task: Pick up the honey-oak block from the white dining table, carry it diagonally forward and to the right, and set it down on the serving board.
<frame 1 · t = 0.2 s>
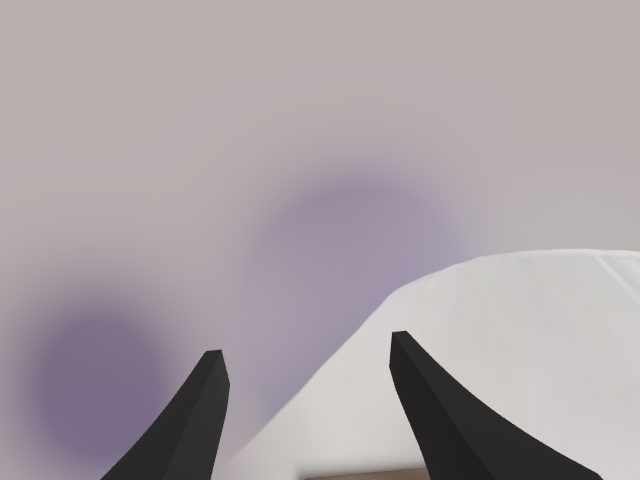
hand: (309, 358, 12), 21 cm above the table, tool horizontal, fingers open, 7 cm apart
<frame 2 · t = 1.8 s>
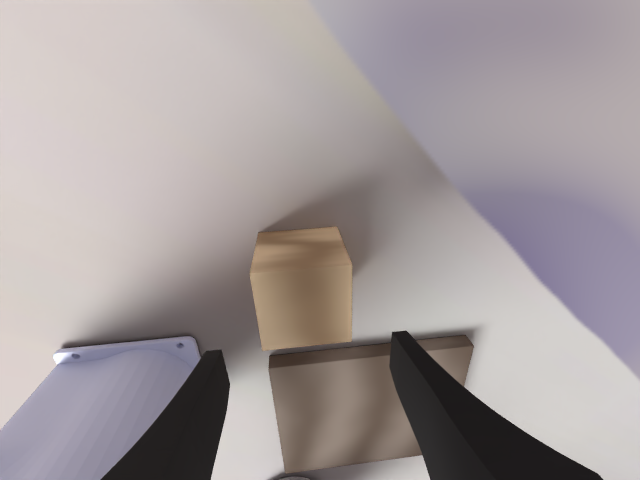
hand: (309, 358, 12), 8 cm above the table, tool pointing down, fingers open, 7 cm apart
serving board: (367, 403, 27), on the table
oak block: (300, 263, 20), on the table
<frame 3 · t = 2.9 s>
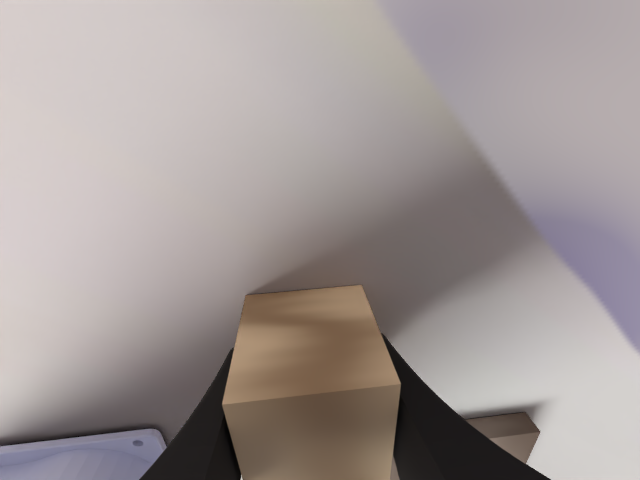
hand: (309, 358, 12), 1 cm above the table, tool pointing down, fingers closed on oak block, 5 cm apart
oak block: (307, 334, 14), on the table, touching gripper
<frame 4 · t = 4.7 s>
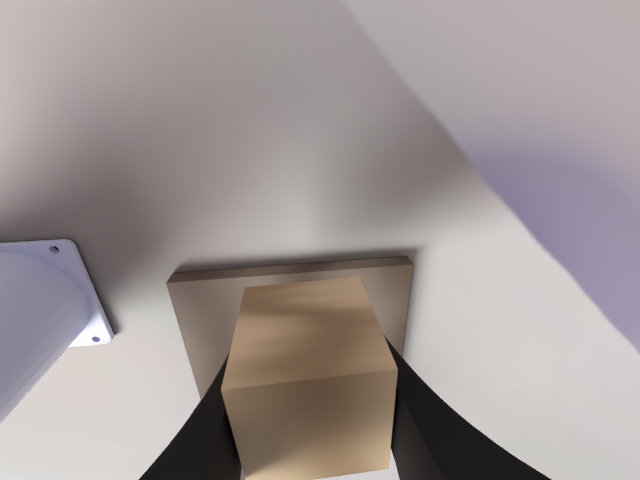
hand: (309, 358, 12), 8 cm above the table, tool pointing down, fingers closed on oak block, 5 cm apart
serving board: (299, 341, 23), on the table
oak block: (306, 326, 14), point 7 cm above the table, touching gripper
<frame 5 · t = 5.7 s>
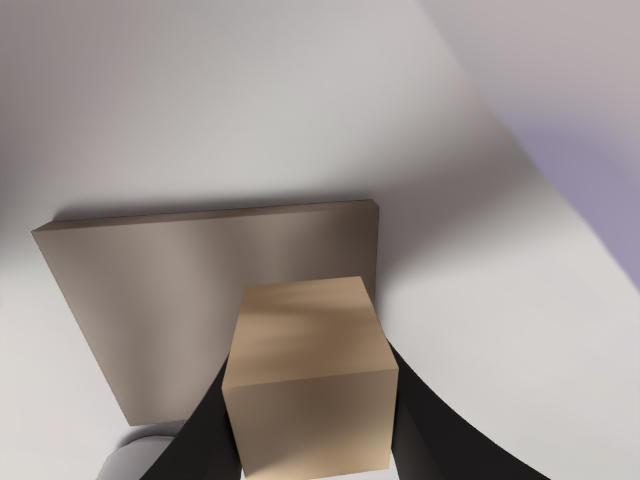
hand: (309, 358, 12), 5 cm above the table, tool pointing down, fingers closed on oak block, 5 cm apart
can: (162, 455, 23), on the table
serving board: (239, 318, 18), on the table
oak block: (307, 326, 14), point 4 cm above the table, touching gripper
when the fingers open (4 cm above the table, at t = 6.5 s): oak block drops 1 cm, resting on serving board.
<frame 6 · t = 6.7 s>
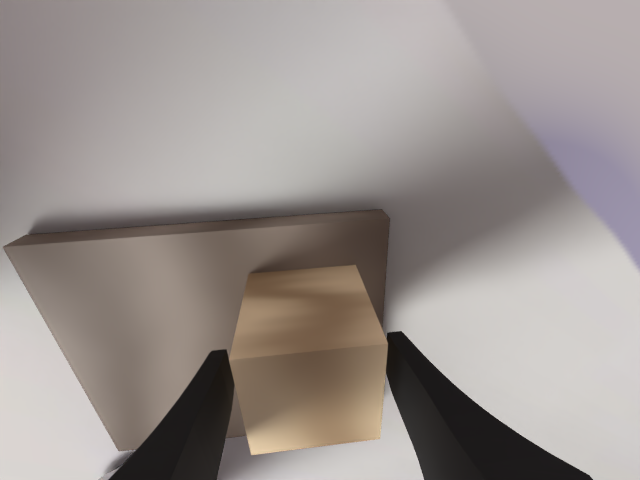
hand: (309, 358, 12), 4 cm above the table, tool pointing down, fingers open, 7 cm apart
serving board: (236, 336, 17), on the table
oak block: (305, 311, 15), point 1 cm above the table, touching serving board
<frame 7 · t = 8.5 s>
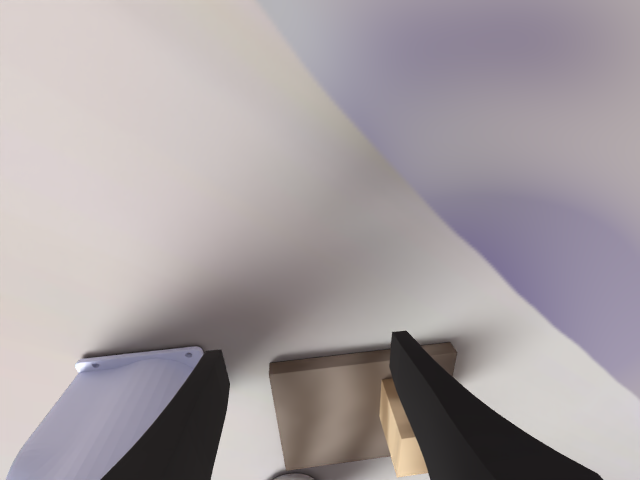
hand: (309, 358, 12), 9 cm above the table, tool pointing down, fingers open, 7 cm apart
serving board: (361, 405, 29), on the table
oak block: (407, 395, 27), point 1 cm above the table, touching serving board
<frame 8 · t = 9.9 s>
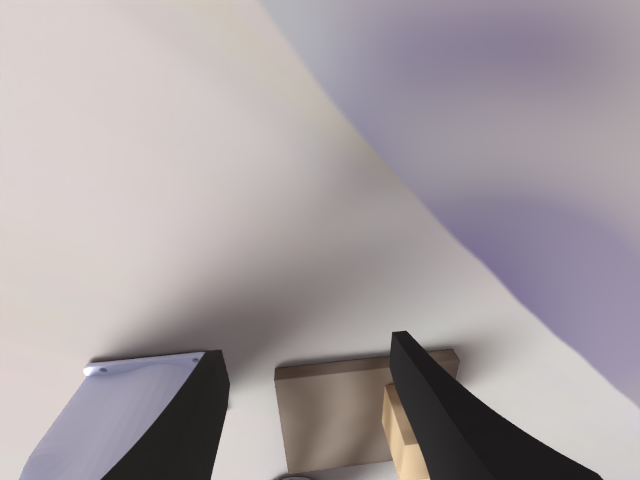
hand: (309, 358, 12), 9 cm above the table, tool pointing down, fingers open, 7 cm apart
serving board: (363, 410, 29), on the table
oak block: (409, 401, 27), point 1 cm above the table, touching serving board
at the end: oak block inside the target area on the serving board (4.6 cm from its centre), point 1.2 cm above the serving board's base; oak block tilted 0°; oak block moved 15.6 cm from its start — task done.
